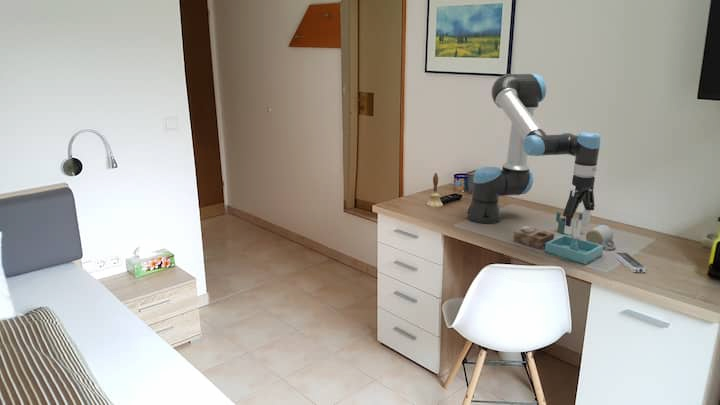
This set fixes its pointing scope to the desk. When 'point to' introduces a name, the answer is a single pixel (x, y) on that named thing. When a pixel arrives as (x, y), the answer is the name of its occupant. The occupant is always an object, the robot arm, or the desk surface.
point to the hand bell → (435, 195)
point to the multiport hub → (630, 262)
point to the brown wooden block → (533, 237)
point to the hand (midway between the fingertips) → (576, 230)
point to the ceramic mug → (601, 236)
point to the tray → (582, 256)
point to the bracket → (563, 222)
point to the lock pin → (575, 234)
